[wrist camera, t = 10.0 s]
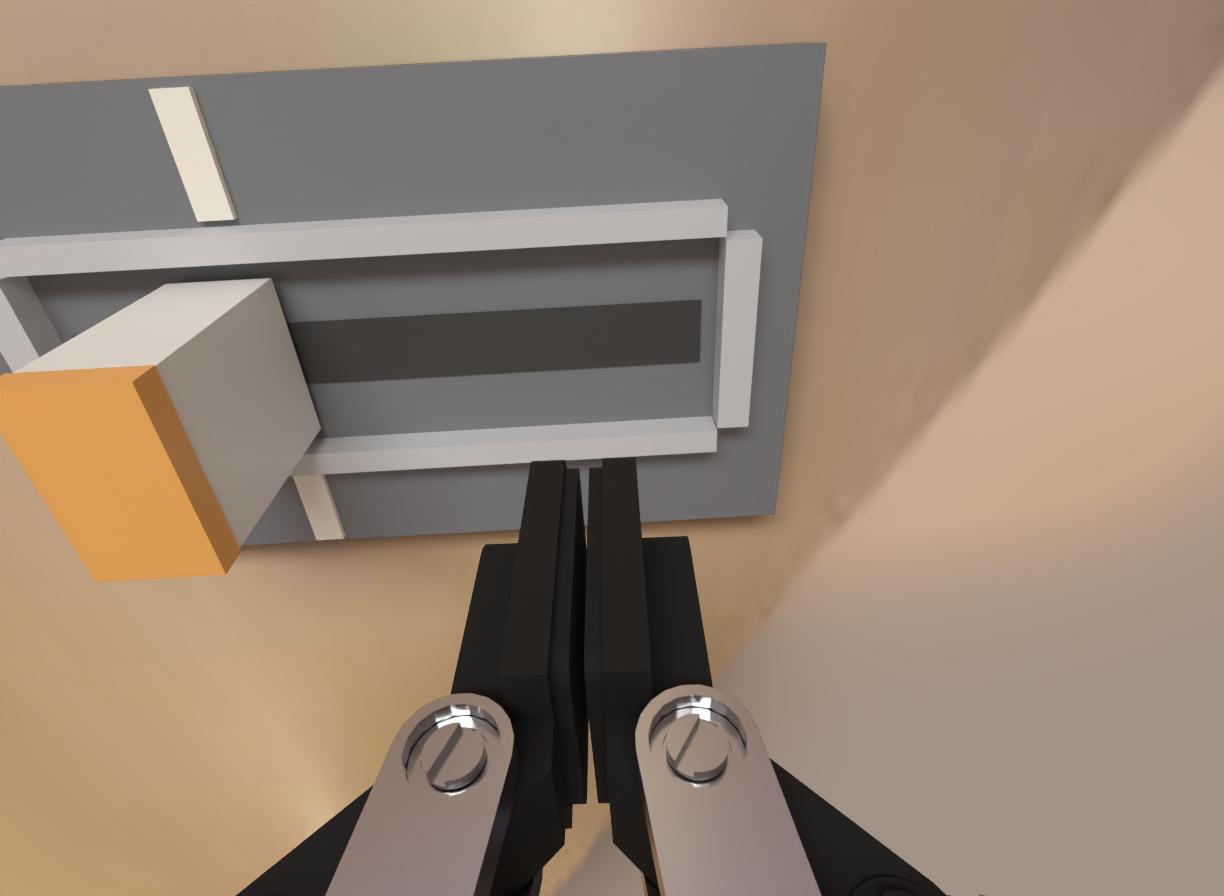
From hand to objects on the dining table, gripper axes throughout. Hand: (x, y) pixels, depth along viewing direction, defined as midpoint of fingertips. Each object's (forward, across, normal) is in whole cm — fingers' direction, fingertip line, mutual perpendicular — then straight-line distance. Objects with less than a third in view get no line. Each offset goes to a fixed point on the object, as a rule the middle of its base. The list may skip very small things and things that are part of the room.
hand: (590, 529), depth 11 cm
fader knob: (+10, +11, +1) cm, 15 cm away
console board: (+12, +6, +2) cm, 14 cm away
